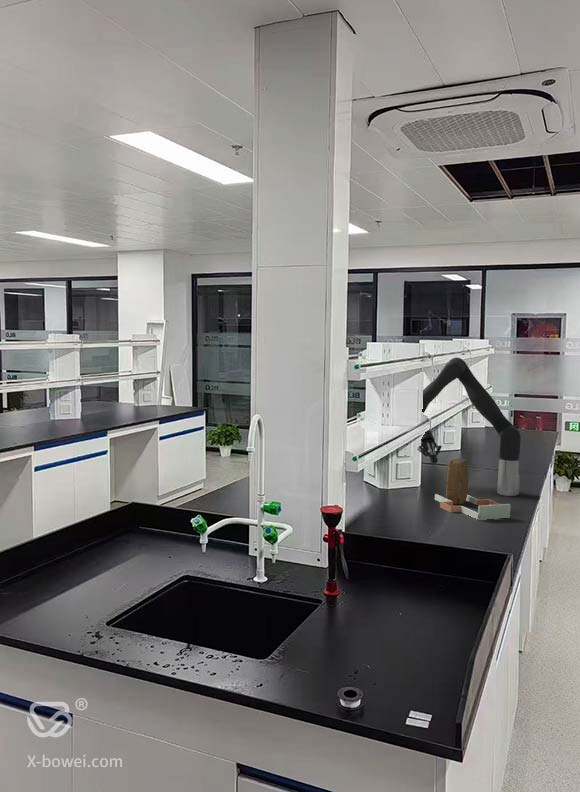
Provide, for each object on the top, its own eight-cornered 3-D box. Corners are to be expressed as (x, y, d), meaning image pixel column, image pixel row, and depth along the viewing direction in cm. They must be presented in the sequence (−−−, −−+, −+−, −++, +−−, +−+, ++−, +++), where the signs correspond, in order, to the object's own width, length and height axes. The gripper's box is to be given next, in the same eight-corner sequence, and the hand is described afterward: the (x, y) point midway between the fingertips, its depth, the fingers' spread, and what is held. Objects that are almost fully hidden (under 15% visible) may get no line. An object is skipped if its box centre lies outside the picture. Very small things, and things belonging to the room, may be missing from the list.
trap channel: (472, 497, 319) (472, 485, 318) (519, 517, 284) (520, 503, 283) (425, 500, 311) (425, 487, 311) (468, 521, 277) (469, 506, 276)
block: (459, 506, 302) (461, 462, 300) (443, 503, 306) (446, 459, 305) (469, 501, 310) (471, 459, 308) (454, 499, 315) (456, 457, 313)
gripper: (415, 429, 333) (426, 458, 322) (438, 429, 337) (450, 458, 326) (409, 438, 338) (420, 467, 328) (432, 438, 342) (444, 466, 332)
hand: (435, 462), depth 327 cm, fingers closed
